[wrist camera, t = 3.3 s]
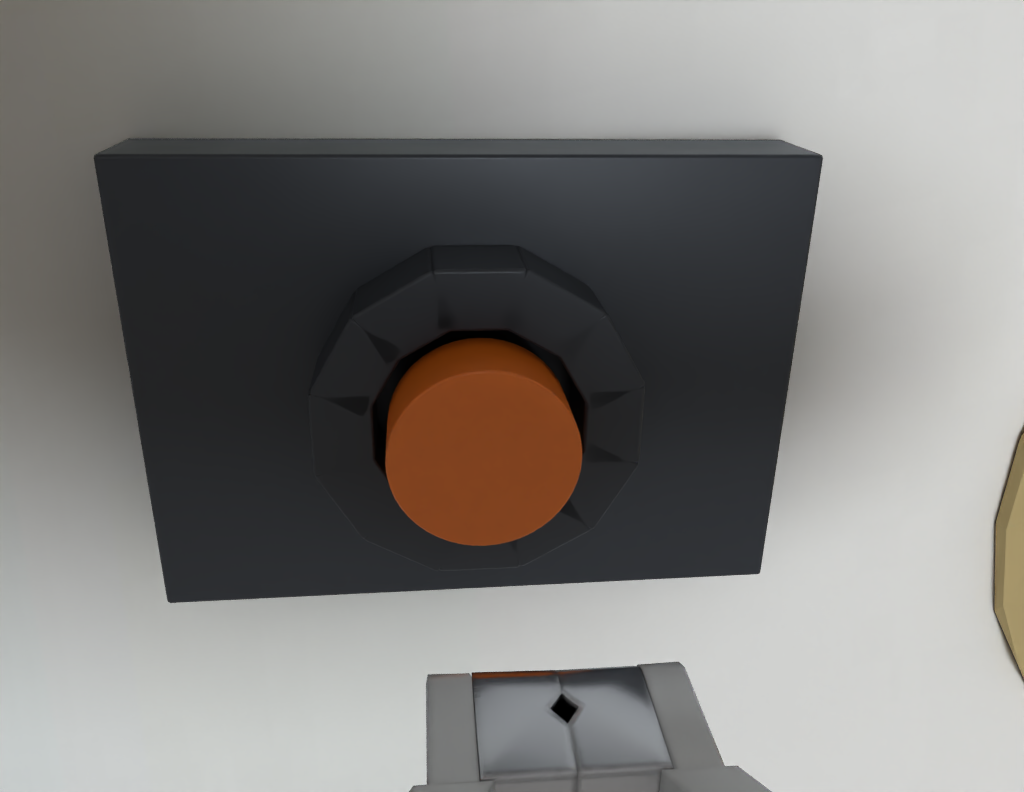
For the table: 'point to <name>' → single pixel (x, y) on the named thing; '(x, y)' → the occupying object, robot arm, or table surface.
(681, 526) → the dark grey button base
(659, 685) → the robot arm
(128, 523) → the table surface
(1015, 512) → the desk lamp
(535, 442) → the round orange button
